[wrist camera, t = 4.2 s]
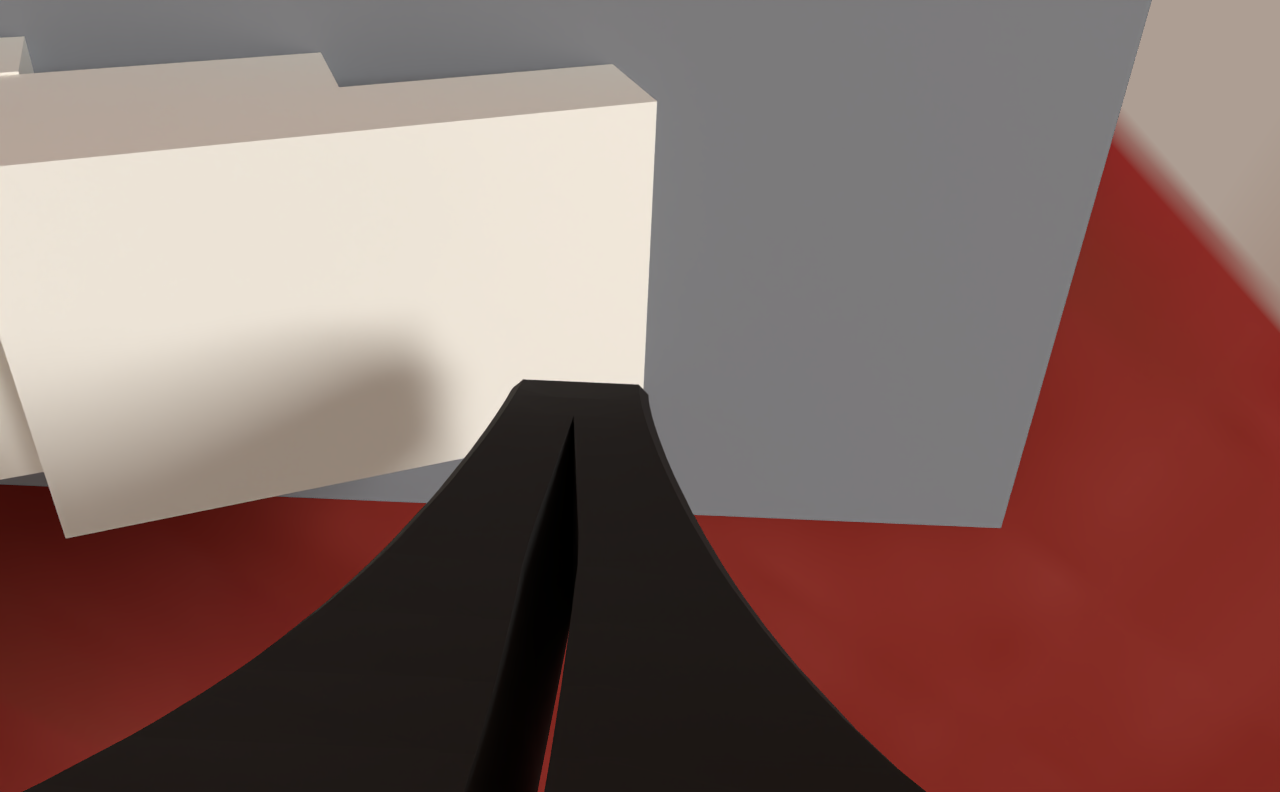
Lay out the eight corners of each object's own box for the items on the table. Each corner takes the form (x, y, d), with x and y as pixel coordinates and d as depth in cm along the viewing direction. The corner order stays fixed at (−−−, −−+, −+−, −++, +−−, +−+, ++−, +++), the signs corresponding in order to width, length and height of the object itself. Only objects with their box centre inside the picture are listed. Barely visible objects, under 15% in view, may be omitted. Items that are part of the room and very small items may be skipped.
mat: (1182, -158, 14) (1195, -153, 14) (995, 513, 20) (1000, 528, 20) (-1038, -260, 14) (-1080, -258, 14) (-552, 445, 20) (-572, 459, 20)
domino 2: (657, 100, 14) (-55, 170, 11) (641, 422, 17) (66, 538, 14) (612, 63, 15) (-41, 119, 13) (605, 368, 18) (67, 466, 15)
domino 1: (339, 88, 14) (-446, 154, 11) (376, 411, 17) (-251, 525, 14) (320, 52, 15) (-393, 103, 13) (357, 359, 18) (-224, 454, 15)
